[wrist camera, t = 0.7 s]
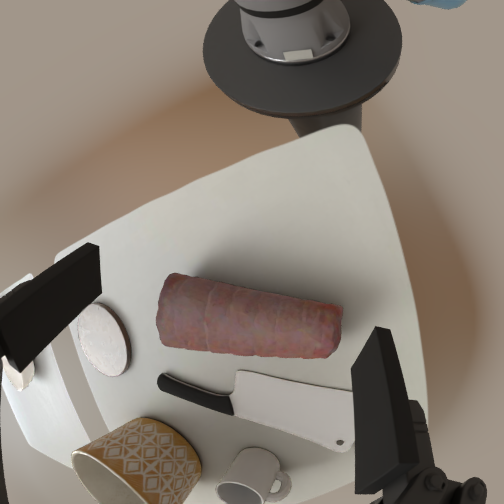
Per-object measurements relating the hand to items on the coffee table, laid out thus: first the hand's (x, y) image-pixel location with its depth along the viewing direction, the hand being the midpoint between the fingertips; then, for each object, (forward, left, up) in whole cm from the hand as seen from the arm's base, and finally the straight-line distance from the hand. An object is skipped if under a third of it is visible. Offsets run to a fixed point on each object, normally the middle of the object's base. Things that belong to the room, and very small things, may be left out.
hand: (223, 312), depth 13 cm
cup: (+33, -3, -24) cm, 40 cm away
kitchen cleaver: (+20, -6, -24) cm, 31 cm away
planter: (+38, -23, -24) cm, 50 cm away
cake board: (+17, -35, -23) cm, 45 cm away
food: (+8, -6, -24) cm, 26 cm away
